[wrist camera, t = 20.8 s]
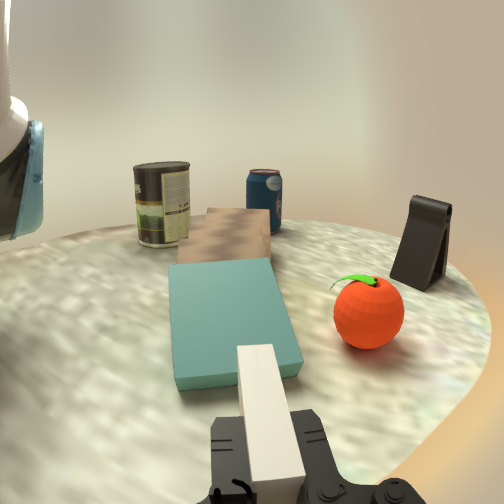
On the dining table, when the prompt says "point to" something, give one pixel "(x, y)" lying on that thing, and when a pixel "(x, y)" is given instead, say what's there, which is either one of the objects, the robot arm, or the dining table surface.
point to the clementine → (368, 312)
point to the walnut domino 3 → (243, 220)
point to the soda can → (265, 194)
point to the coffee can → (162, 203)
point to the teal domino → (226, 320)
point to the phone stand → (423, 244)
